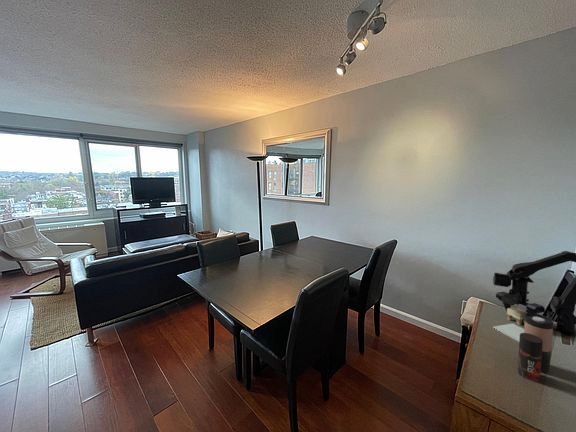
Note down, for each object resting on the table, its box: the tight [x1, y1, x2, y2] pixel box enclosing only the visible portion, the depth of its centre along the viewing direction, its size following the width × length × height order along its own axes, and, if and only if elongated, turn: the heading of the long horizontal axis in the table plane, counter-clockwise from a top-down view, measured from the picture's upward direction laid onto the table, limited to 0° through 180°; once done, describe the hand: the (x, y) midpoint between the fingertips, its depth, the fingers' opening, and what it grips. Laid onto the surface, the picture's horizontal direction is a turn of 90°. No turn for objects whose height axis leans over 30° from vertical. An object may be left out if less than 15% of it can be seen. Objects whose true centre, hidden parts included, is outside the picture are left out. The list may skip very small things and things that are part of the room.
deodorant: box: [517, 333, 543, 382], centre depth 87 cm, size 6×6×15 cm
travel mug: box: [523, 313, 554, 373], centre depth 91 cm, size 8×8×20 cm
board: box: [492, 323, 524, 343], centre depth 113 cm, size 12×12×1 cm
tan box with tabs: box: [506, 306, 527, 326], centre depth 123 cm, size 6×6×6 cm
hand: (517, 317), depth 123 cm, fingers open, 9 cm apart
